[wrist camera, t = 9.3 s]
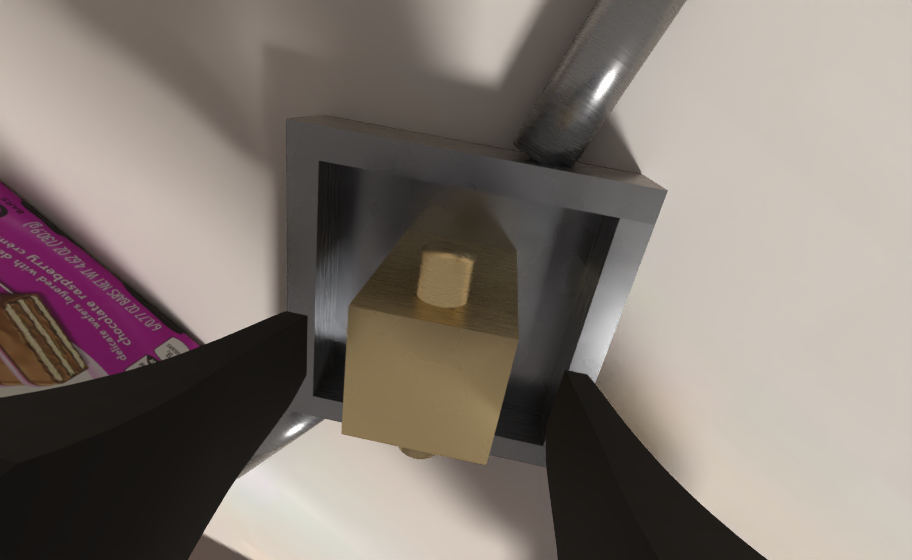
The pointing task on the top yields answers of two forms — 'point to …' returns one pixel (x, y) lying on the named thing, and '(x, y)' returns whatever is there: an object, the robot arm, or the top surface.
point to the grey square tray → (470, 219)
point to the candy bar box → (67, 310)
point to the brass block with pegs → (432, 347)
